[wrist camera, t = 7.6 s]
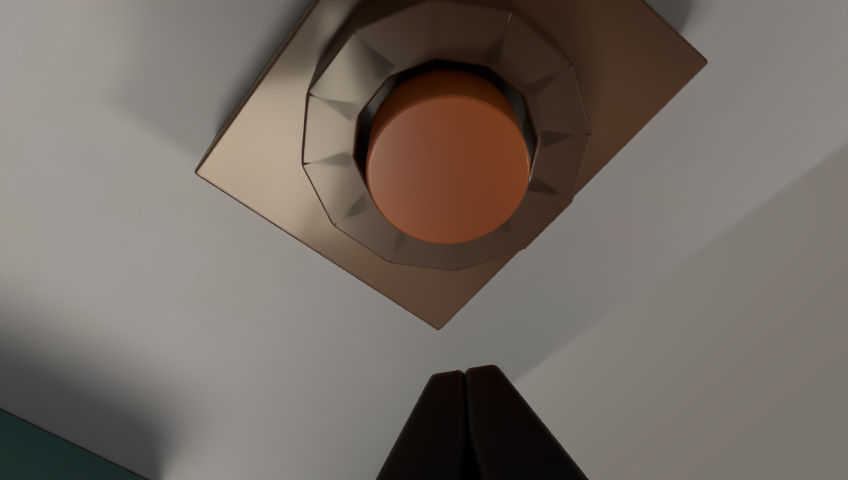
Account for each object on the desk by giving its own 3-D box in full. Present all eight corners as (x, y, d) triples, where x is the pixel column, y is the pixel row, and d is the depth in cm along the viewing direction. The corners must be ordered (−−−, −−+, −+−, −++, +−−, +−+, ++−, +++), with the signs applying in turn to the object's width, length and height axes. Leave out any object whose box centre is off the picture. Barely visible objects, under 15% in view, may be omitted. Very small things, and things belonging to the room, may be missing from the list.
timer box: (443, -185, 17) (452, -185, 13) (680, 37, 19) (739, 87, 16) (213, 140, 20) (172, 206, 17) (436, 289, 23) (441, 373, 20)
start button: (433, 35, 15) (436, 59, 14) (551, 130, 17) (565, 162, 15) (339, 152, 17) (332, 186, 15) (454, 233, 18) (457, 272, 16)
